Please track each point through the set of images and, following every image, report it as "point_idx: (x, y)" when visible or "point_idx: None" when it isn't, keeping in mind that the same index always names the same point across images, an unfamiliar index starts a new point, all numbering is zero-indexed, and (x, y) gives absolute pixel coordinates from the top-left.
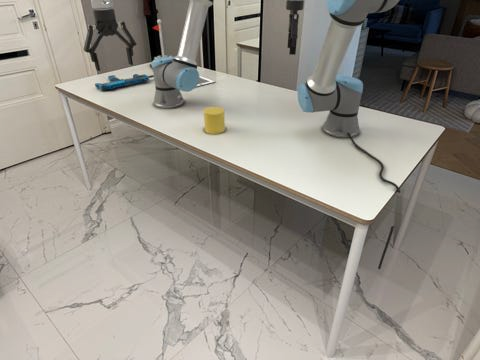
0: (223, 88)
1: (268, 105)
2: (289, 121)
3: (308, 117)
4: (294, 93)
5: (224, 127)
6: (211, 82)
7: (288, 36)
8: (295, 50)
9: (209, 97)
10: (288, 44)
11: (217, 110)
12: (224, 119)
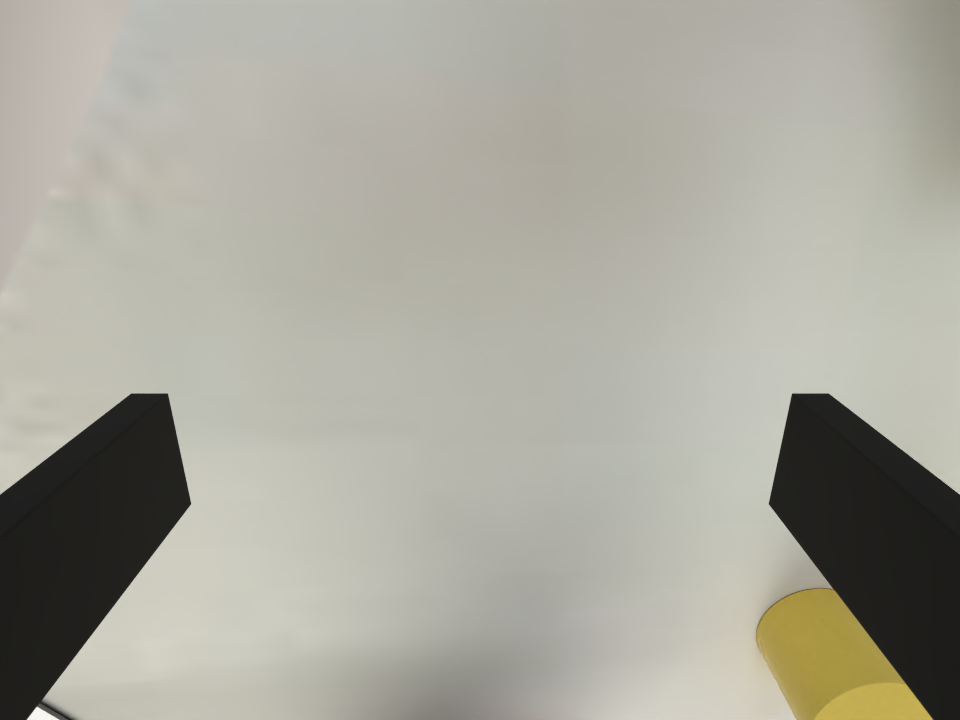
0: (141, 643)
1: (437, 365)
2: (746, 229)
3: (683, 67)
4: (113, 139)
5: (838, 602)
6: (55, 716)
7: (27, 714)
8: (878, 442)
9: (330, 695)
10: (150, 536)
11: (875, 713)
12: (857, 636)
